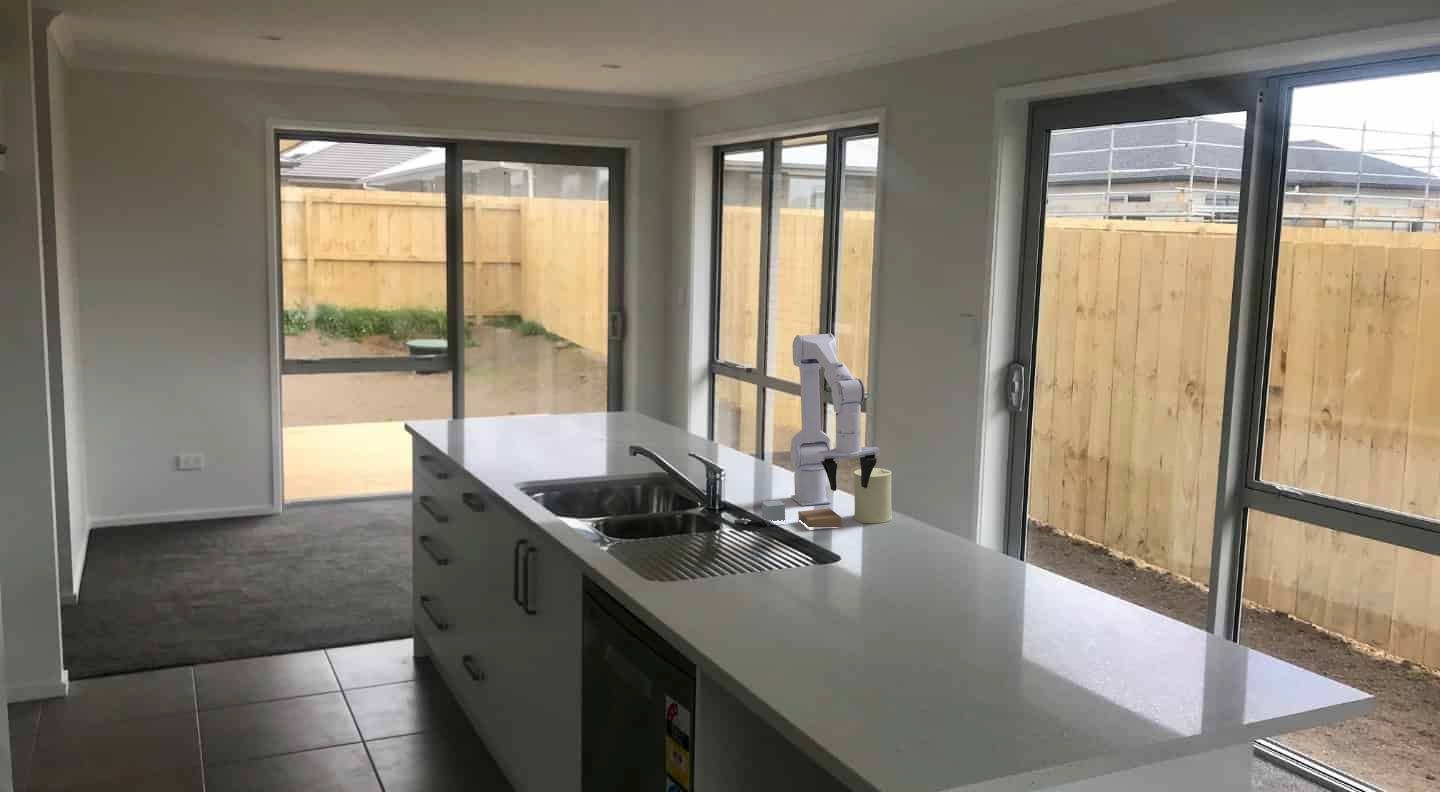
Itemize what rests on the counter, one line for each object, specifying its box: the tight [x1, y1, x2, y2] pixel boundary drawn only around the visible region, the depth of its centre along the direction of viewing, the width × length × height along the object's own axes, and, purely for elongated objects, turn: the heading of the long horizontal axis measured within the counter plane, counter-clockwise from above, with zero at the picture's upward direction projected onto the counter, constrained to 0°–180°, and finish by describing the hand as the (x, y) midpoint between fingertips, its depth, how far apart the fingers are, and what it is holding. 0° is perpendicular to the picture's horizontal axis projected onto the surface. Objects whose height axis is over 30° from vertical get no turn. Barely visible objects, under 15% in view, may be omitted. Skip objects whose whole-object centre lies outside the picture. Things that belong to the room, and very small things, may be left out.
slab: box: [797, 507, 842, 528], centre depth 273 cm, size 8×8×3 cm
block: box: [761, 499, 786, 521], centre depth 275 cm, size 4×4×5 cm
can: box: [853, 467, 893, 524], centre depth 276 cm, size 9×9×12 cm
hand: (848, 488), depth 265 cm, fingers open, 7 cm apart
